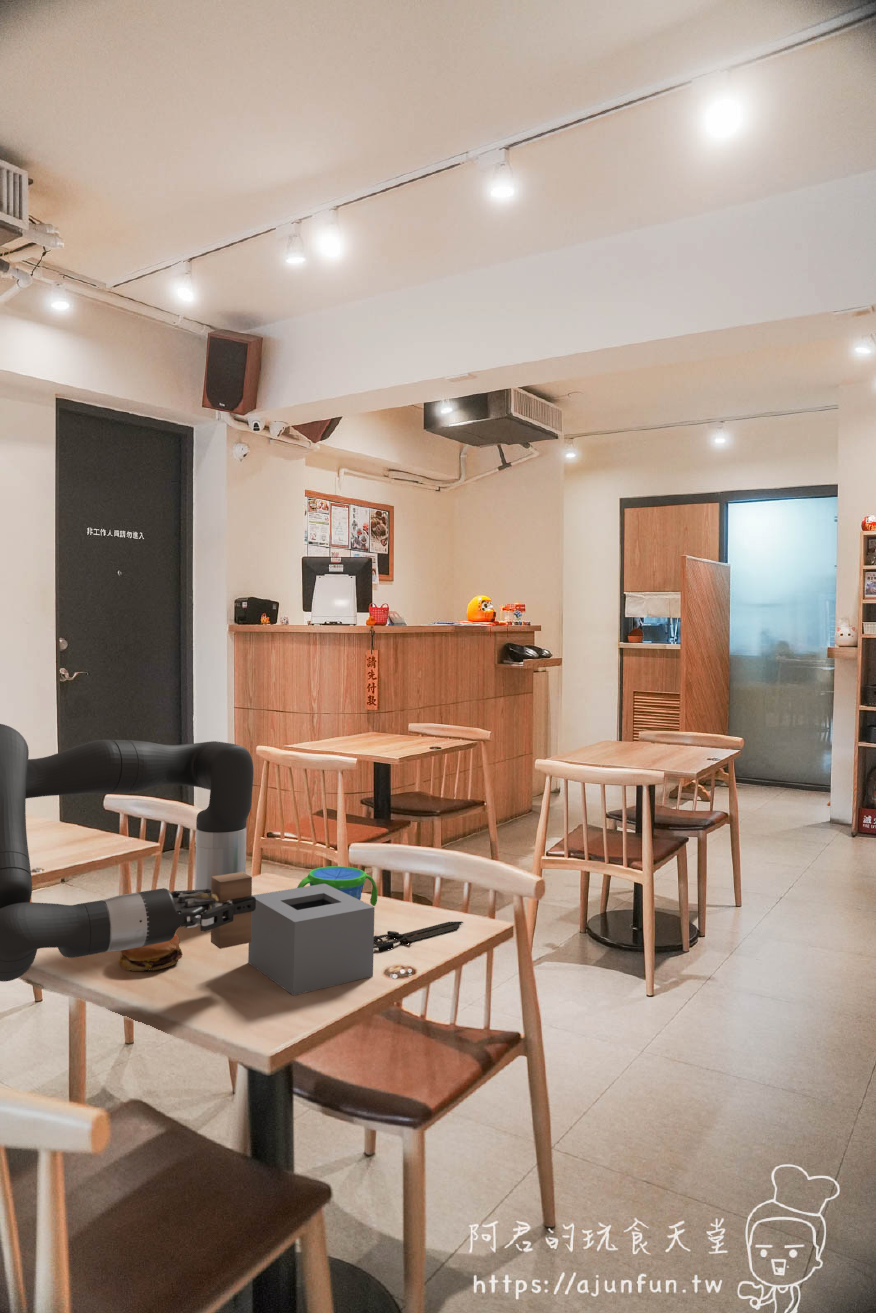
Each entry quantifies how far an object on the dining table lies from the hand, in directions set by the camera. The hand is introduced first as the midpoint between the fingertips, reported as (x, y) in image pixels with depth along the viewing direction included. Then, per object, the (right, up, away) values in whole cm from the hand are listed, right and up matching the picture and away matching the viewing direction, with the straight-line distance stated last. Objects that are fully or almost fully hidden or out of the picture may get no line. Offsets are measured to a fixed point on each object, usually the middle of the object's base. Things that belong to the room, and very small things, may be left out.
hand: (248, 899), depth 136 cm
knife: (+24, -14, +24) cm, 37 cm away
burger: (-18, -13, +8) cm, 23 cm away
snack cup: (+10, -13, +28) cm, 32 cm away
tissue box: (+8, -13, +7) cm, 17 cm away
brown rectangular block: (-2, -6, -2) cm, 7 cm away
